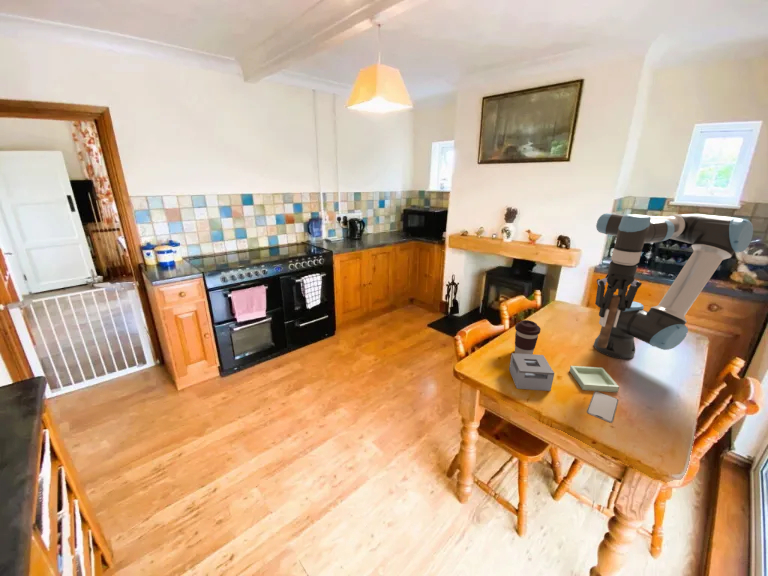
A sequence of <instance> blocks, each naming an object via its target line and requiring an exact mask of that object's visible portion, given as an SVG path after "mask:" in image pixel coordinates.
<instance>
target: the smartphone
mask: <svg viewBox="0 0 768 576" xmlns="http://www.w3.org/2000/svg"><path fill="white" fill-rule="evenodd" d="M591 397H592V398H591V399H590V402H589V404H588V407H587V410H586V413H587V414H588V415H589V416H593V417H595V418H597V419H600V420H603V421H605V422H607V423H610V424H611V423H613V422H614V418H615V417H616V416H615V414H616V411H617V407H618V403H619V399H618V398H616V397H614V396H612V395H608V394H606V393H604V392H602V391H593V395H592V396H591Z"/></svg>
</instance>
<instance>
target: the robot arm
mask: <svg viewBox="0 0 768 576" xmlns="http://www.w3.org/2000/svg"><path fill="white" fill-rule="evenodd" d="M595 226H596V230H597V231H598V233H600V234H604V235H608V236H609V235H610V236H614V237H616V239H615V243H614V246H613V250H612V254H611V260H610V262H609V265H608V270H607V275H605V277H604V278H602V279H601V278H598V279H596V284H597V286H596V288H597V289H596V297H595V306H597V307H598V308H599V313H598V316H599V321H598V324H599V325H600V326H601V327H605V324H606V321H607V317H608V313H609V309H607V308H608V306H609V303H610V301H611V299H612V297H613V294H615V293H616V291H617V290H618V291H617V295H619V296H620V300H619V304H618V307H617V311H616V315H615V318H614V322H613V326H612V329H611V333H610V336H609V340H608V344H607V347H606V348H600V347H598V346H597V343H598V339H599V335H600V333H599V334H598V336H597V337H596V338H595V339H594V341H593V342H594V343H593V347H594V348H595V350H597V351H598V352H600V354H601V353H602V354H603V355H606V356H608V357H612V358H615V359H620V360H621V359H622V360H625V359H626V360H627V359H628V360H629V359H631V358H632V359H633V357H635V354H636V346H635V345H636V344H635V339H637V340H640V341H642V342H644V343H646V344H648V345H650V346H651V347H655V348H658V349H660V350H663V351H666V350H667V351H668V350H671V349H673V348H676V347H677V346H678V345H680V344H681V343H682V342H683V341H684V340H685V338H687V336H688V335H687V334H688V331H689V328H688V326H686V324H687V319H686V315H687V313H688V312H689V310H690V309H691V307H692V306H693V304H694V303H695V301H696V300H697V298H698V297H699V296H700V294H701V293H702V291H703V289H704V288H705V286H706V285H707V284H708V282H709V281H710V279H711V278H712V277H713V275H714V273H715V272H716V270H717V269H718V268H719V266H720V265H721V263H722V261H724V260H727V259H731V258H732V257H733V255H734V253H742V252H745V250H747V248H748V247H749V246H750V244H751V241H752V240H753V236H754V235H753V233H754V226H753V223H752V222H751V221H750V220H749V219H747V218H741V217H740V218H739V217H736V216H732V217H731V216H722V215H713V214H705V213H684V214H683V213H682V214H679V213H678V214H676V213H675V214H667V215H664V216H659V215H657V216H655V215H646V214H636V213H633V214H630V213H628V214H617V213H610V212H609V213H608V212H607V213H603V214H602V215H600V216H599V217H598V219H597V221H596V225H595ZM669 239H670V240H675V241H679V242H683V243H687V244H691V248H692V250H693V251H692V254H691V255H690V257H689V258H688V259H687V261H686V262H685V264H684V266H683V267H682V269H680V272H679V273H678V275H677V277H675V279H674V280H673V282H672V284H671V285H670V287H668V289H667V291H666V293H665V294H664V296H663V298H662V299H661V300H660V302H659V303H658V305H656V306H650V309H649V310H644V309H645V307H644V305H643V304H642V303H641V302H639V301H634V299H635V297H636V295H637V292H638V289H639V288H640V287H641V286H642V282H640V281H639V280H637V279H635V275H636V273H637V268H638V264H639V263H640V259H641V255H642V252H643V248H644V245H645V244H652V243H660V242H664V241H667V240H669ZM606 285H607V286H606ZM605 290H606V291H605Z"/></svg>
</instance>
